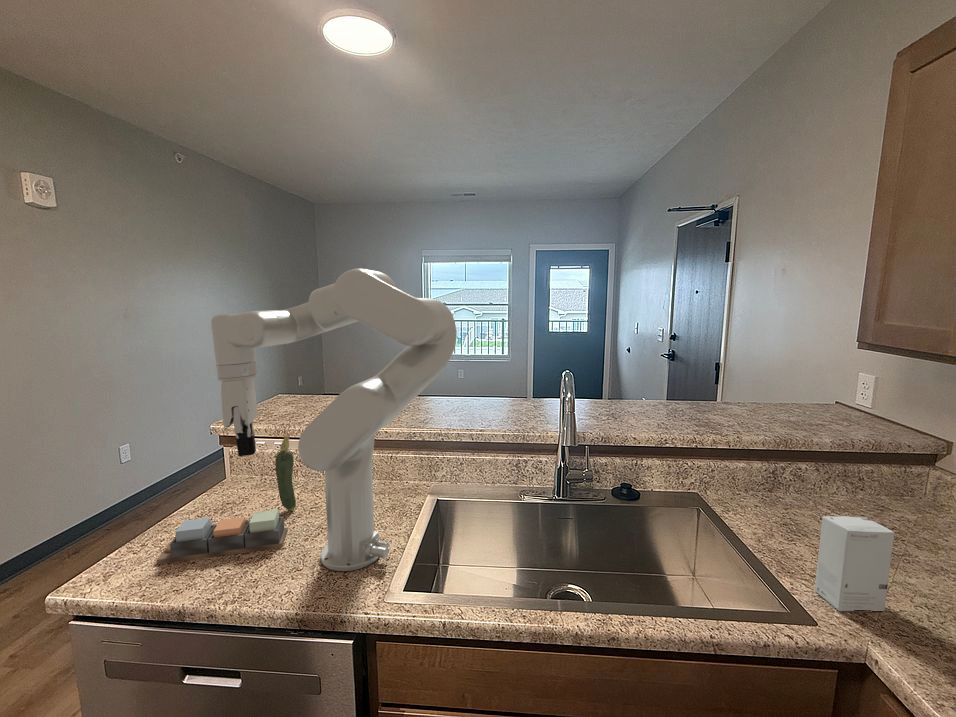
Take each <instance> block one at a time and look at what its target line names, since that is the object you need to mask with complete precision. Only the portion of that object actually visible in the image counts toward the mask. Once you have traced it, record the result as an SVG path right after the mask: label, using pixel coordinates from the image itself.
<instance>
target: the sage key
mask: <svg viewBox="0 0 956 717" xmlns="http://www.w3.org/2000/svg"><path fill="white" fill-rule="evenodd" d="M279 517H280V512H279V509H271V510H264V511H261V510H260V511H254V513H253V515H252V517H251V518H250V519H249V520H250V522H249V526H250V533H255V532H263V531H271V530H276V529H277V527H278V524H279Z"/></svg>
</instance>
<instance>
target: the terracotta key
mask: <svg viewBox="0 0 956 717" xmlns="http://www.w3.org/2000/svg"><path fill="white" fill-rule="evenodd" d="M246 521H247V520H246V516H243V517H242V516H240V517H234V518H225V519H220V520H219V521H218V523H217V526H216V528H215V529H214V531H213V533H214V538H215V537H223V536H231V535H239V534H242V532H243V530H244V528H245V526H246Z"/></svg>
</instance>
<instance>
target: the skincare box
mask: <svg viewBox="0 0 956 717" xmlns="http://www.w3.org/2000/svg"><path fill="white" fill-rule="evenodd" d="M894 538H895V532H894V530H891V529H889V528H887V527H885V526H883V525H881V524H880V523H877V522H876V521H874V520H872V519H871V518H868V517H858V516H847V515H845V516H844V515H840V516H836V515H835V516H832V515H831V516H830V515H829V516H828V515H826V516H825V515H822V518H821V529H820V538H819V539H820V540H819V547H818V554H817V555H818V556H817V564H816V566H817V567H816V575H815V582H814V583H815V584H814V591H815V592H816V593H817V594H818V595H819V596H821V597H822V598H823V599H824V600H825V601H826V602H827V603H828V604H829V605H830V604H831V606H832V607H833V608H834V609H835V608H836V609H835V610H836V611H837V610H838V611H837V612H843V611H844V612H855V611H854V610H876V611H884V610H885V609H886V603H887V602H886V601H887V594H888V587H889V586H888V585H889V579H890V578H889V577H890V568H891V564H892V563H891V562H892V554H893V546H894V540H895V539H894ZM884 612H885V611H884Z"/></svg>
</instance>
